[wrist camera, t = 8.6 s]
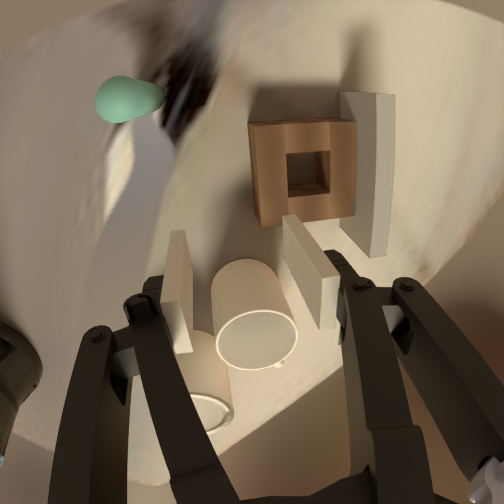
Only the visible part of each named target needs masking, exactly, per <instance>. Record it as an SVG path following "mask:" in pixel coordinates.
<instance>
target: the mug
mask: <svg viewBox="0 0 504 504" xmlns="http://www.w3.org/2000/svg"><path fill="white" fill-rule="evenodd" d="M173 352H174V355H175V357H176V360H177V363H178V365H179V368H180V371H181V373H182V376H183V378H184V381H185V383H186V386H187V388H188V391H189V393H190V396H191V398H192V401H193V403H194V405H195V408H196V410H197V412H198V415H199V417H200V419H201V422H202V424H203V426H204V428H205V431H206V433H207V435H208V434H213V433H216V432H218V431H220V430H223V429H224V428H225V427H227V426H228V425H229V424H230V423H231V421H232V420H233V418H234V409H233V402H232V396H231V389H230V382H229V374H228V367H227V363H226V362H224V361H223V360H222V359H221V358H220V356H219V355H218V353H217V351H216V346H215V337H214V336H212V335H210V334H208V333H206V332H203V331H197V330H193V352H188V353H180V354H176V352H175V349H174V346H173ZM150 415H151V414H150Z"/></svg>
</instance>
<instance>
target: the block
mask: <svg viewBox="0 0 504 504" xmlns="http://www.w3.org/2000/svg"><path fill="white" fill-rule="evenodd" d="M247 124H248V135H249V147H250V158H251V170H252V182H253V194H254V206H255V214H256V217H257V219H258V221H259V223H260V225H261V228H265V227H272V226H280V225H283V219H282V216H286V215H294V214H296V216H297V217H298V218H299V220H300V221H301V222H302V223H303V222H311V221H318V220H326V219H334V218H343V217H351V216H354V209H355V180H356V122H355V121H350V120H346V119H341V118H318V119H294V120H278V121H264V122H252V123H247ZM313 151H316V153H317V183H307V184H297V185H288V184H287V164H286V153H299V152H313Z"/></svg>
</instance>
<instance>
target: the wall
mask: <svg viewBox="0 0 504 504" xmlns="http://www.w3.org/2000/svg"><path fill="white" fill-rule="evenodd" d="M339 101H340V118H341V119H346V120H350V121H355V122H356V180H355V209H354V216H351V217H343V218H340V228H341V229H342V230H343V231H344V232H345V233H346V234H347V235H348V236H349V237H350V238H351V239H352V240H353V241H354V242H355V243H356V245H357V246H358V247H359V248H360V249H361V250H362V251H363V252H364V253H365V254H366V255H367V256H368V257H369V259H370V258H376V257H381V256H386V253H387V245H388V237H389V228H390V218H391V207H392V195H393V181H394V161H395V95H393V94H381V93H367V92H343V91H339Z"/></svg>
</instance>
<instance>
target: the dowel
mask: <svg viewBox="0 0 504 504" xmlns="http://www.w3.org/2000/svg"><path fill="white" fill-rule="evenodd" d="M164 98H165V95H164V91H163V90H162V88H161V87H160V86H158V85H156V84H153V83H149V82H145V81H142V80H138V79H134V78H130V77H126V76H115V77H112V78H110V79H108V80H107V81H105V82H104V83H103V84H102V85H101V87H100V88H99V90H98V92H97V94H96V99H95V104H96V109H97V111H98V113H99V115H100V116H101V117H102V118H103V119H105V120H106V121H109V122H112V123H120V122H124V121H127V120H130V119H133V118H136V117H138V116H141V115H144V114H147V113H151V112H154V111H156V110H158V109H159V108H160V107H161V106H162V104H163V102H164Z"/></svg>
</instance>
